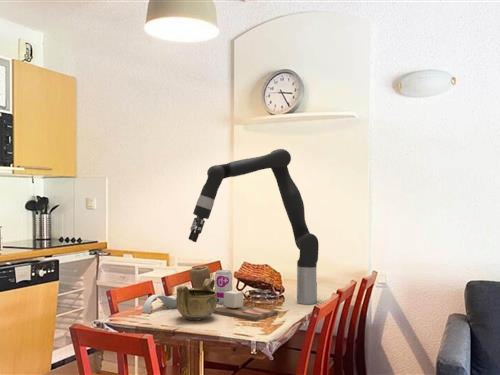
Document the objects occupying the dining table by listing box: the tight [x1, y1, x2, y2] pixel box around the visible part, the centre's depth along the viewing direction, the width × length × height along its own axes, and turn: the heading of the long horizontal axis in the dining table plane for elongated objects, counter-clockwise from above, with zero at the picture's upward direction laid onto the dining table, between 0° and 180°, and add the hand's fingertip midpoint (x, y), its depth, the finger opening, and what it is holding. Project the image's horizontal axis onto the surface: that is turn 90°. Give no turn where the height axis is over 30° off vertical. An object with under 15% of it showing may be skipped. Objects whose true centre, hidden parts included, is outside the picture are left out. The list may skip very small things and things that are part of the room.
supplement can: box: [214, 269, 233, 305], centre depth 248 cm, size 8×8×15 cm
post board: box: [212, 304, 279, 322], centre depth 225 cm, size 16×24×8 cm, turn 53°
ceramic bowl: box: [175, 278, 218, 321], centre depth 215 cm, size 22×17×15 cm
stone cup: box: [189, 265, 215, 291], centre depth 264 cm, size 15×12×15 cm
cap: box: [223, 289, 244, 308], centre depth 229 cm, size 6×6×6 cm
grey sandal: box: [142, 294, 177, 314], centre depth 233 cm, size 24×12×7 cm, turn 146°
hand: (192, 240), depth 237 cm, fingers open, 8 cm apart
